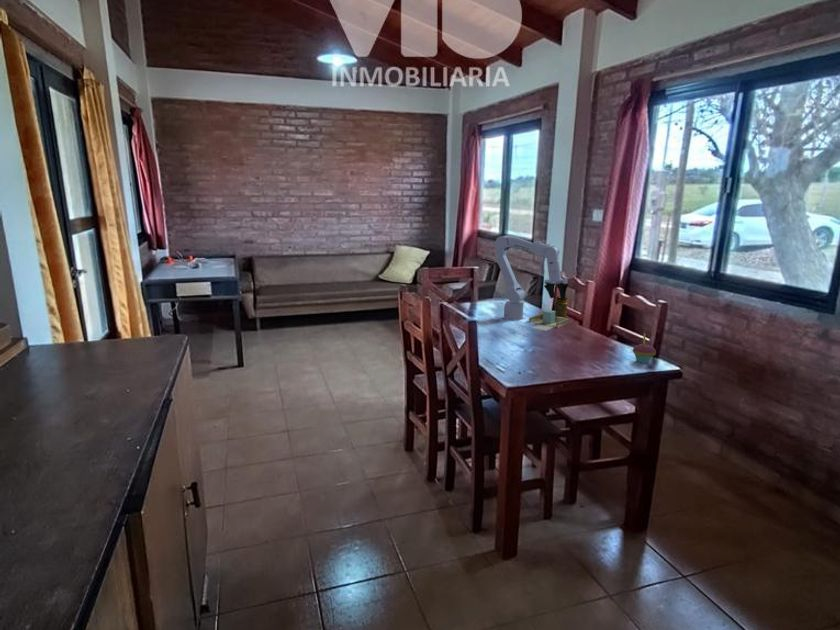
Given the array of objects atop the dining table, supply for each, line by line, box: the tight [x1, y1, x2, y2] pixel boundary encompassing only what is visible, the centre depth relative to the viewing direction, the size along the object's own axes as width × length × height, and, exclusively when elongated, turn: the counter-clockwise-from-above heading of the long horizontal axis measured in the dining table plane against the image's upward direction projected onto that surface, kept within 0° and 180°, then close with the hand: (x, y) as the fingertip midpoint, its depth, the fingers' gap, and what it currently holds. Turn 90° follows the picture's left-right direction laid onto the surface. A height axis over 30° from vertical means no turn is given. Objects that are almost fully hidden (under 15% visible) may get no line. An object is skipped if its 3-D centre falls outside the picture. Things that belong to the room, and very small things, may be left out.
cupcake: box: [632, 331, 657, 364], centre depth 205 cm, size 9×8×12 cm
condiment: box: [554, 295, 568, 318], centre depth 268 cm, size 7×8×12 cm
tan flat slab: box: [528, 313, 570, 329], centre depth 261 cm, size 16×12×3 cm
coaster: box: [530, 324, 554, 331], centre depth 252 cm, size 8×8×1 cm
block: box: [542, 309, 556, 324], centre depth 260 cm, size 4×4×6 cm
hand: (557, 298), depth 255 cm, fingers open, 7 cm apart
